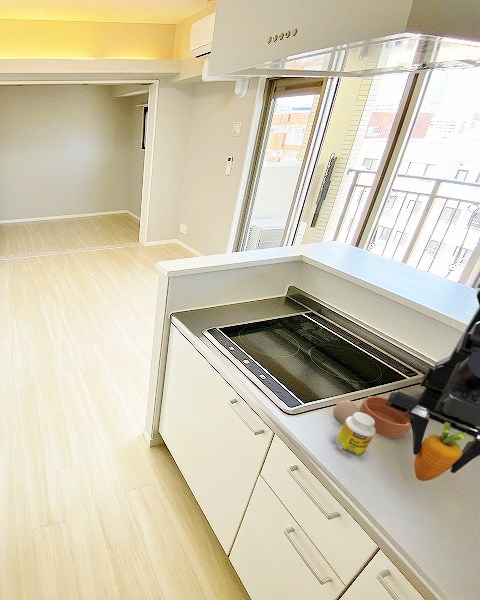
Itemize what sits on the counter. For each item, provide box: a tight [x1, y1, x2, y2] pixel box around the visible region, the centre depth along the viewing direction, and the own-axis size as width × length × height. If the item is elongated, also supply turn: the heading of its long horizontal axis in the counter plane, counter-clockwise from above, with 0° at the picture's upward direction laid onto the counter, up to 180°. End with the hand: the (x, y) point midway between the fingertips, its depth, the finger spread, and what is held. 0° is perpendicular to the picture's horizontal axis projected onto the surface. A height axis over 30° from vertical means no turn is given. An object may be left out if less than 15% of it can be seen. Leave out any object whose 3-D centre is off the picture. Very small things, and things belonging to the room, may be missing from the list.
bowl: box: [359, 395, 412, 439], centre depth 86 cm, size 10×10×5 cm
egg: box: [332, 399, 360, 426], centre depth 86 cm, size 5×5×7 cm
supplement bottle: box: [335, 412, 376, 457], centre depth 79 cm, size 6×6×10 cm
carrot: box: [413, 422, 469, 482], centre depth 63 cm, size 5×5×15 cm
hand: (432, 463), depth 62 cm, fingers closed on carrot, 5 cm apart
